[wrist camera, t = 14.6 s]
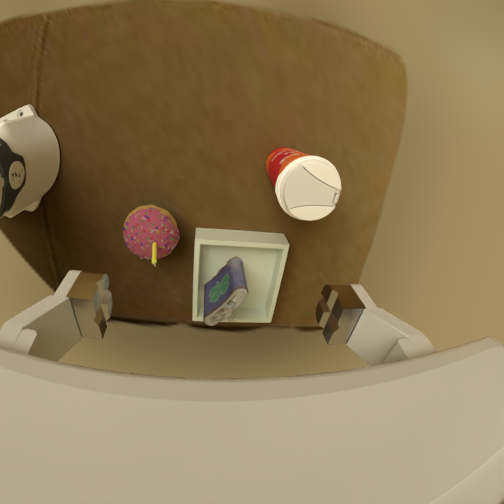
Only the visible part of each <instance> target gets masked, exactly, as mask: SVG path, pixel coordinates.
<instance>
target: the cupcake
mask: <svg viewBox="0 0 504 504" xmlns="http://www.w3.org/2000/svg"><path fill="white" fill-rule="evenodd" d="M123 234H124V240H125V243H126V245H127V247H128V248H129V249H130V251H132V252H133V254H135V255H137V256H139V257H141V259H142V258H144V259H147V260H152V264H154V266H155V267H156V263H157V259H161V258H164V257H166V256H167V255H168V254H170V253H171V252H172V251H173V249H174V248H176V245H177V243H178V240H179V236H180V234H179V229H178V227H177V223H176V220H175V219H174V217H173V216H172V215H171V214H170V213H169V212H168V211H167V210H165V209H163V208H160V207H157V206H155V205H146V206H139V207H137V208H136V209H135V210H133V211H132V212H131V213H130V214H129V215H128V216H127V218H126V220H125V223H124V233H123Z"/></svg>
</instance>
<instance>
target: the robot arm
mask: <svg viewBox="0 0 504 504" xmlns="http://www.w3.org/2000/svg"><path fill="white" fill-rule="evenodd" d="M22 112H23V116H22ZM59 164H60V151H59V145H58V141H57V138H56V136H55V134H54V132H53V130H52V129H51V127H50V126H49V125H48V124H47V123H46V122H45V121H43V120H42V119H40V118H39V117H38V115H37V113H36V111H35V109H34V107H33V106H32V105H30V104H29V105H26V106H23V107H21V108H19V109H17V110H15V111H13V112H12V113H10V114H8V115H6V116H4V117H2V118H0V219H1V218H2V217H3V216H8V217H9V218H11V217H13V216H15V215H16V214H18V213H20V212H21V211H23V210H27V211H34V210H36V209H37V207H38V205H39V203H40V200H41V198H42V196H43V195H44V194H45V193H46V192H47V191H48V190H49V189H50V188H51V187H52V185H53V184H54V182H55V180H56V177H57V174H58V170H59ZM108 286H109V278H108V275H107V274H106V273H97V272H88V271H79V270H70V271H69V272H68V273H67V275H66V276H65V278H64V279H63V281H62V283H61V284H60V286H59V287H58V289H57V291H56V292H55V294H54V296H53V295H50V296H48V297H46V298H45V299H43V300H41V301H39V302H38V303H36V304H34V305H33V306H31V307H30V308H28V309H26V310H24V311H23V312H21V313H19V314H18V315H16V316H15V317H13V318H12V319H10V320H8V321H7V322H5V323H4V325H3V327H2V328H1V330H0V504H504V344H503V343H501V342H499V341H498V340H496V339H494V338H492V337H484V338H481V339H478V340H475V341H472V342H469V343H466V344H462V345H459V346H456V347H452V348H449V349H445V350H442V351H438V352H436V350H435V349H434V347H433V346H432V345H431V343H430V342H429V340H428V339H427V338H426V336H425V335H424V334H423V333H421V332H420V331H418V330H416V329H415V328H413V327H411V326H410V325H408V324H406V323H405V322H403V321H401V320H400V319H398V318H396V317H395V316H393V315H391V314H389V313H388V312H386V311H385V310H383V309H381V308H377V306H376V305H375V304H374V302H373V301H372V299H371V298H370V297H369V295H368V294H367V292H366V291H365V290H364V288H363V287H362V286H361V285H359V284H348V285H325V286H324V288H323V290H322V295H323V298H322V299H321V300H320V301H319V302H318V304H317V308H316V319H317V322H318V324H319V325H320V326H321V327H323V328H324V330H323V335H324V337H325V340H326V342H327V344H328V345H334V344H347V346H349V347H350V348H351V349H352V350H353V351H354V352H355V353H357V354H358V355H359V356H360V357H361V358H362V359H363V360H364V361H366V362H367V363H368V364H369V365H370V366H368V367H362V368H356V369H350V370H343V371H335V372H327V373H318V374H307V375H297V376H282V377H263V378H185V377H167V376H153V375H143V374H133V373H125V372H117V371H109V370H102V369H96V368H90V367H84V366H78V365H73V364H68V363H63V362H58V361H59V360H60V359H61V358H62V357H63V356H64V355H65V354H66V353H67V352H68V351H69V350H70V349H71V348H72V347H73V346H74V345H75V344H76V343H78V341H80V340H81V339H82V337H85V338H94V339H103V337H104V334H105V331H106V328H107V325H106V320H108V319H109V318H110V315H111V312H112V295H111V293H110V291H109V290H108V289H107V288H108Z"/></svg>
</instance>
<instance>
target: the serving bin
mask: <svg viewBox="0 0 504 504" xmlns="http://www.w3.org/2000/svg"><path fill="white" fill-rule="evenodd" d="M288 249H289V243H288V241H287V239H286V237H285V235H284V234H281V233H268V232H254V231H239V230H224V229H208V228H196V234H195V250H194V275H193V321H203V314H204V285H205V284H206V283H207V282H208V281H209V280H211V279H212V278H213V276H216V275H217V272H218V271H219V269H221V268H222V267H223V266H225V265H226V264H227V261H228V260H230V259H231V258H233V257H236V256H237V257H239V258H240V259H241V260H242V261H243V267H244V273H245V278H246V284H247V288H248V295H247V297H246V299H245V300H244V301H243V302H242V303H241V305H240V306H239V307H238V308H237V309H236V310H235V311H234V312H233V313H232V314H231V315H232V316H231V318H233V320H232V321H230V322H256V323H271V320H272V316H273V312H274V308H275V304H276V300H277V296H278V292H279V288H280V284H281V279H282V275H283V271H284V267H285V262H286V258H287V254H288ZM234 316H235V317H234ZM231 318H229V319H227V320H225V319H224V320H222V321H220V322H228V320H230V319H231Z"/></svg>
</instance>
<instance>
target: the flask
mask: <svg viewBox="0 0 504 504" xmlns="http://www.w3.org/2000/svg"><path fill="white" fill-rule="evenodd" d="M247 295H248V288H247V284H246V278H245V273H244V267H243V261H242V260H241V259H240V258H239V257H237V256H236V257H233V258H231V259H230V260H228V261H227V264H226V265H225V266H223V267H222V268H221V269H219V271H218V272H217V275H216V276H213V278H212V279H211V280H209V281H208V282H207V283H206V284H205V285H204V314H203V322H204V323H205V324H207V325H210V326H213V325H216V324H217V323H219V322H220V321H222V320H224V319H225V320H227V319H229V318H231V316H232V315H231V314H232V313H233V312H234V311H235V310H236V309H237V308H238V307H239V306H240V305H241V303H242V302H243V301H244V300H245V299H246V297H247ZM234 317H235V316H234ZM232 320H233V318H231V319H230V320H228V322H230V321H232Z"/></svg>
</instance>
